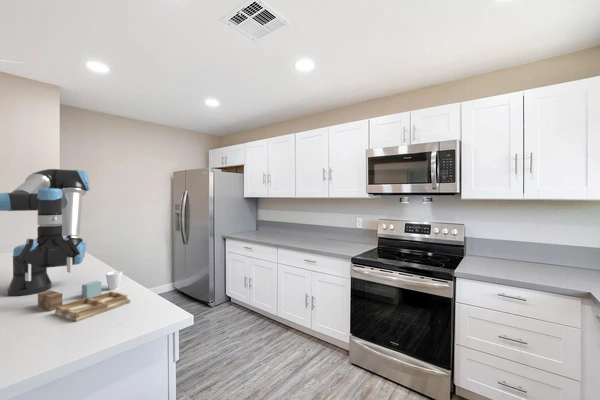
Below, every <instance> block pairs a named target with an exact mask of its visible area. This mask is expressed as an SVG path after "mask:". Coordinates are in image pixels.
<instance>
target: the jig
mask: <svg viewBox="0 0 600 400" xmlns="http://www.w3.org/2000/svg"><path fill="white" fill-rule="evenodd" d="M130 303H131V299H128V294H125V293H121V292H116V291H114V290H110V291H108V292H105V293H101V295H98V296H94V297H91V298H88V297H87V298H81V299H78V300H73V301H70V302H68V303H64V304H62V305H60V306H57V307H56V310H54V313H55V315H57V316H59V317H63V318H66V319H68V320H71V321H73V322H76V323H77V322H80V321H84V320H86V319H88V318H91V317H94V316H97V315H100V314H103V313H105V312H108V311H111V310H114V309H116V308H120V307H122V306H124V305H127V304H130Z"/></svg>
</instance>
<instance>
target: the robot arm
mask: <svg viewBox="0 0 600 400" xmlns="http://www.w3.org/2000/svg"><path fill="white" fill-rule="evenodd" d="M88 176H89V175H88V172H87V171H85V170H80V169H56V168H48V169H42V170H39V171H36V172H32V173H31V174H29V175H28V176H27V177H26V178H25V181H24V182H23V183H22V184H19V186H18V187H17V188H15V189H14V190H12V191H11V192H0V212H2V211H3V212H13V211H14V212H18V211H19V212H25V211H29V212H30V211H37V220H36V221H37V225H38V227H37V228H36V230H37V237H36V238H26V243H24V244H20V245H17V246H15V247H14V248H13V250H12V253H13V254H12V279H11V281H10V284H9V286H8V288H7V296H11V297H19V296H28V295H29V296H30V295H34V294H38V293H40V292H44V291H48V290H51V288H52V286H53V285H52V281H51V279H50V276H49V275H48V268H57V267H59V268H60V267H66V272H67V273H69V274H71V273H73V266H75V265H80V264H82V262H83V261H84V258H85V255H86V251H87V243H86V242H85V241H83V239H84V238H82V237H80V230H81V220H82V219H81V217H82V204H83V197H84V196H85V195H86V193H87V192H88V191H90V180H89V177H88Z"/></svg>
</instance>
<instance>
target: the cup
mask: <svg viewBox="0 0 600 400" xmlns="http://www.w3.org/2000/svg"><path fill="white" fill-rule="evenodd" d="M122 277H123V271H122V270H114V271H108V272H107V273H105V278H106V284H107V287H108V290H109V291H116V290H118V289H120V285H121V281H122Z"/></svg>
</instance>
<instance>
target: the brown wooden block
mask: <svg viewBox="0 0 600 400" xmlns="http://www.w3.org/2000/svg"><path fill="white" fill-rule="evenodd" d="M60 305H63V293H61V292H58V291H55V290H51V289H48V290H45V291H42V292H39V293H37V308H39V309H43V310H44V311H48V312H53V311H56V307H57V306H60Z"/></svg>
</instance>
